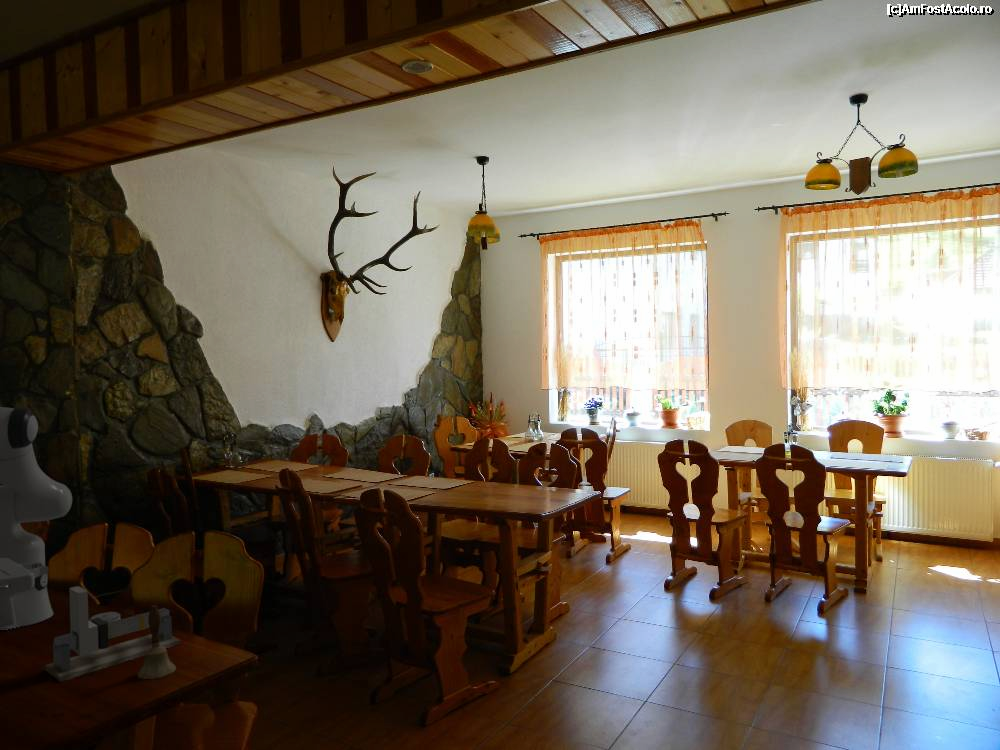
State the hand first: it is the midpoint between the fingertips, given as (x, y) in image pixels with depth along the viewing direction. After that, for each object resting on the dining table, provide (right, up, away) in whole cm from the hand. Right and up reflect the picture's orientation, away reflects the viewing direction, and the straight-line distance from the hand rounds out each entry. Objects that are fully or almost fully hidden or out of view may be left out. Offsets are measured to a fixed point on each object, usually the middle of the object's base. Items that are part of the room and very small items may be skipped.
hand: (44, 567), depth 169 cm
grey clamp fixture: (+10, -24, +12) cm, 29 cm away
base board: (+10, -26, +12) cm, 30 cm away
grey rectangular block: (+6, -22, +7) cm, 23 cm away
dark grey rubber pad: (+8, -22, +9) cm, 25 cm away
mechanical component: (-2, -26, +30) cm, 39 cm away
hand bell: (+25, -26, +3) cm, 36 cm away
